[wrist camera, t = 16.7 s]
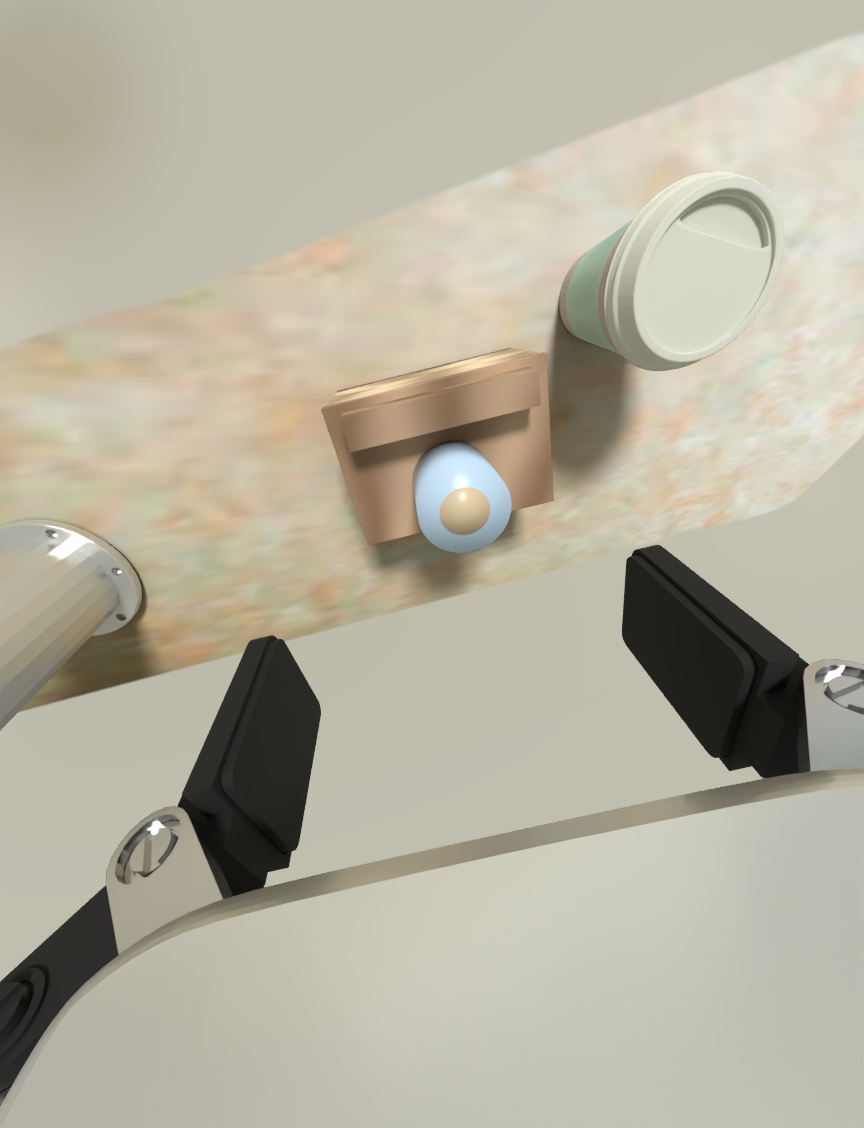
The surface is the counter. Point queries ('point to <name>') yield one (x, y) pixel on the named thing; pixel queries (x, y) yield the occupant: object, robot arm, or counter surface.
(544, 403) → the lid
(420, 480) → the pale blue rounded block
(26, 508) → the counter surface
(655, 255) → the coffee cup
